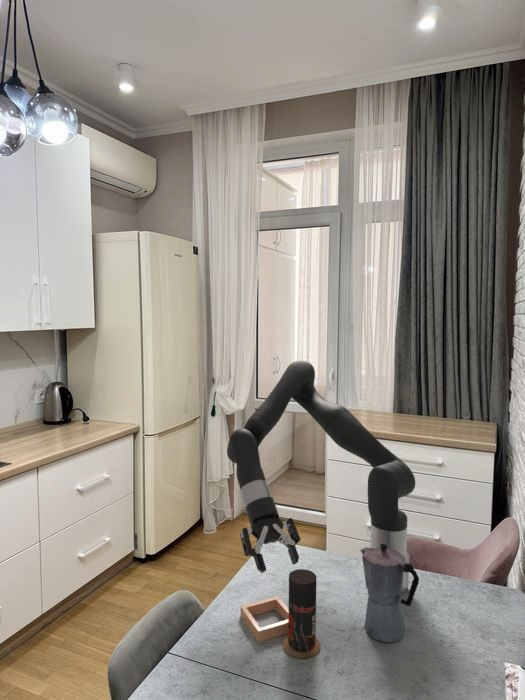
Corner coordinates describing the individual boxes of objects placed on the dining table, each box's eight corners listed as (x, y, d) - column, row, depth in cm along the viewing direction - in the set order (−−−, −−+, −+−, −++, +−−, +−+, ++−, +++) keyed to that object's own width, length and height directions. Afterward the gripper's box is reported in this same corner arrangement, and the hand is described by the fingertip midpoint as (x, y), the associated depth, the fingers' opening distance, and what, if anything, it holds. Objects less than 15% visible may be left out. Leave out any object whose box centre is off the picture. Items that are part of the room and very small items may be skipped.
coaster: (307, 630, 110) (307, 627, 110) (327, 652, 102) (327, 649, 102) (276, 640, 106) (276, 637, 106) (294, 663, 99) (294, 661, 99)
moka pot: (369, 607, 118) (371, 529, 117) (428, 638, 107) (431, 551, 106) (346, 625, 112) (348, 541, 110) (406, 659, 101) (410, 567, 99)
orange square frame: (277, 605, 119) (277, 596, 118) (298, 629, 110) (298, 619, 109) (240, 616, 114) (240, 606, 114) (258, 642, 105) (258, 631, 105)
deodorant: (314, 654, 101) (315, 585, 100) (286, 649, 102) (286, 582, 101) (316, 635, 107) (317, 570, 106) (290, 631, 108) (291, 567, 107)
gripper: (278, 504, 128) (300, 566, 118) (229, 513, 122) (247, 579, 112) (288, 491, 123) (311, 555, 113) (237, 500, 116) (257, 568, 107)
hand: (279, 567), depth 113 cm, fingers open, 8 cm apart
